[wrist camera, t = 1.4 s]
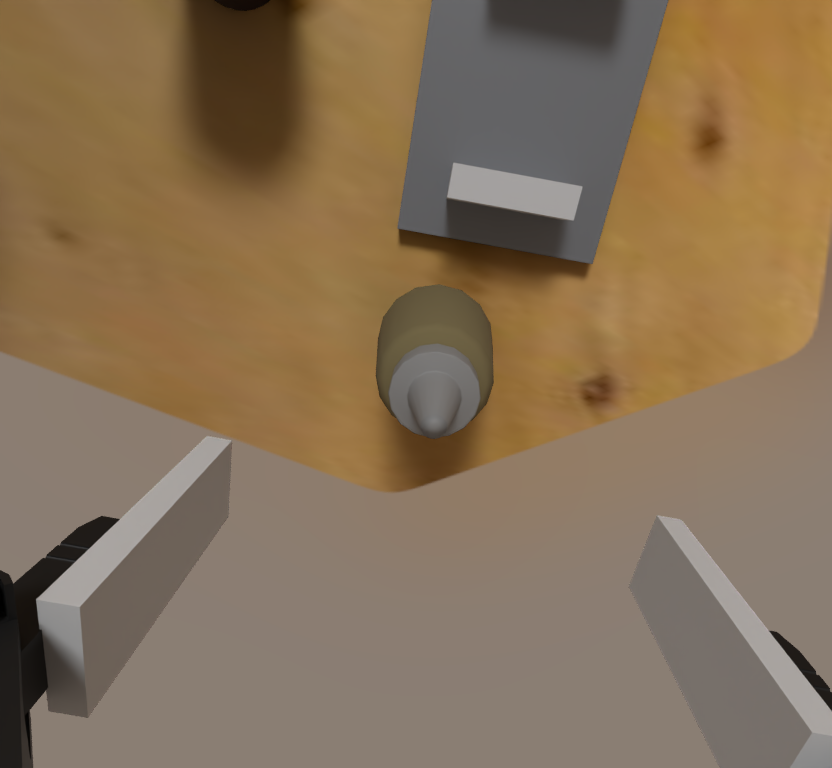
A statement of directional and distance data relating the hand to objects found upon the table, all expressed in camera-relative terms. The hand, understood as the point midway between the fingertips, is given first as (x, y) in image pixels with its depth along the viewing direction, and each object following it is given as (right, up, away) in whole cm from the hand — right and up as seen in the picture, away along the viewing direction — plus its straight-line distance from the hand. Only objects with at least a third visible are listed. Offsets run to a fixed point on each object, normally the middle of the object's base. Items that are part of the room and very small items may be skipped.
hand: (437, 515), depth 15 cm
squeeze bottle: (+1, +8, +23) cm, 25 cm away
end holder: (+7, +23, +17) cm, 30 cm away
